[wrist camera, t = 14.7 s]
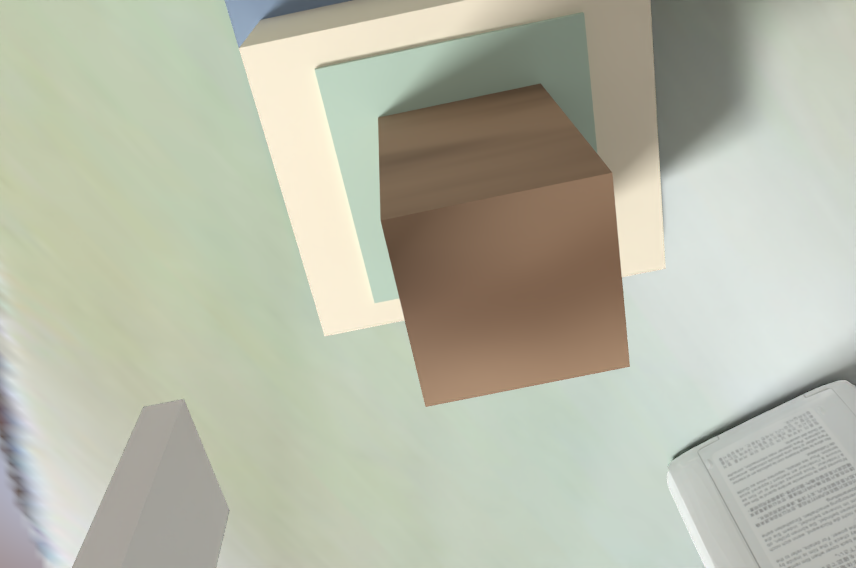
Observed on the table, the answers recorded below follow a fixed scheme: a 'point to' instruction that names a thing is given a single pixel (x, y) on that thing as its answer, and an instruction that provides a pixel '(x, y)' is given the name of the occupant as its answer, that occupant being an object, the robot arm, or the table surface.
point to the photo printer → (775, 486)
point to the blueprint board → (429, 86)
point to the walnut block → (501, 244)
